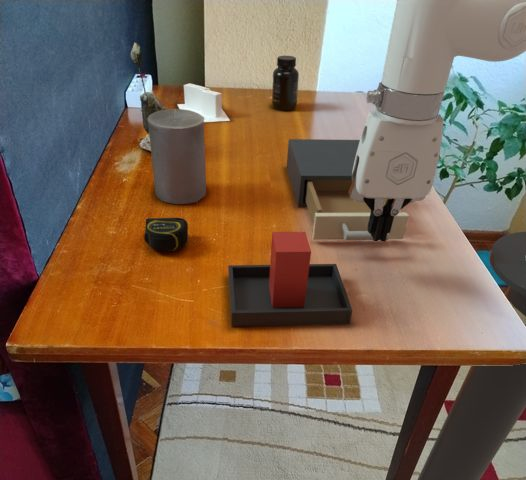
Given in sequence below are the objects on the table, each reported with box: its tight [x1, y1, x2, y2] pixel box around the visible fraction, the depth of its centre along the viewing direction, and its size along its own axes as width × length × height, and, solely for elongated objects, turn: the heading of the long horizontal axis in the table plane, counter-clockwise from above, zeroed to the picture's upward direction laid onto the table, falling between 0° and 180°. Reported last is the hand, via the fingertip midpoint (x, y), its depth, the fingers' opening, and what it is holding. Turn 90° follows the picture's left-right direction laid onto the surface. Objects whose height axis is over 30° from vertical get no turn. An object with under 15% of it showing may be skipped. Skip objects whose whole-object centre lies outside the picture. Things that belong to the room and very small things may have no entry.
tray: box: [227, 263, 354, 328], centre depth 69 cm, size 16×11×2 cm
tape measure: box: [143, 217, 189, 252], centre depth 78 cm, size 7×7×4 cm
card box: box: [269, 231, 312, 308], centre depth 67 cm, size 4×5×9 cm
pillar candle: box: [148, 108, 207, 205], centre depth 88 cm, size 10×10×15 cm
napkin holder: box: [177, 82, 231, 123], centre depth 126 cm, size 15×11×6 cm
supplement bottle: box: [271, 55, 300, 112], centre depth 129 cm, size 7×7×12 cm
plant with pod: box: [130, 42, 167, 152], centre depth 102 cm, size 8×11×20 cm
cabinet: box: [286, 138, 360, 208], centre depth 96 cm, size 18×17×6 cm
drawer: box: [304, 180, 410, 241], centre depth 85 cm, size 21×15×4 cm
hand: (377, 236), depth 72 cm, fingers closed
